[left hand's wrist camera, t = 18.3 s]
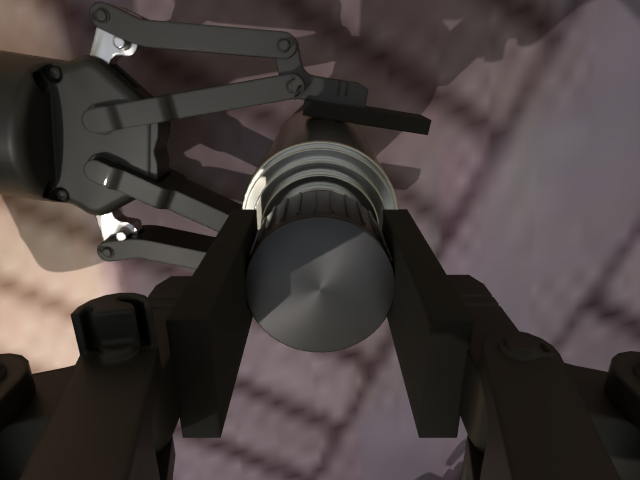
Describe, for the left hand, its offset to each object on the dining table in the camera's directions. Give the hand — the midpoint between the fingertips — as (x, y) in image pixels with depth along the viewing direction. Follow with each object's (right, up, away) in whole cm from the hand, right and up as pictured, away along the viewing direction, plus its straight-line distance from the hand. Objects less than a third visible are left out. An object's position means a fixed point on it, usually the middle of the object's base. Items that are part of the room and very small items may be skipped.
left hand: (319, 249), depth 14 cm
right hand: (+5, +3, +11) cm, 12 cm away
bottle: (0, +7, +17) cm, 18 cm away
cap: (0, 0, 0) cm, 0 cm away
